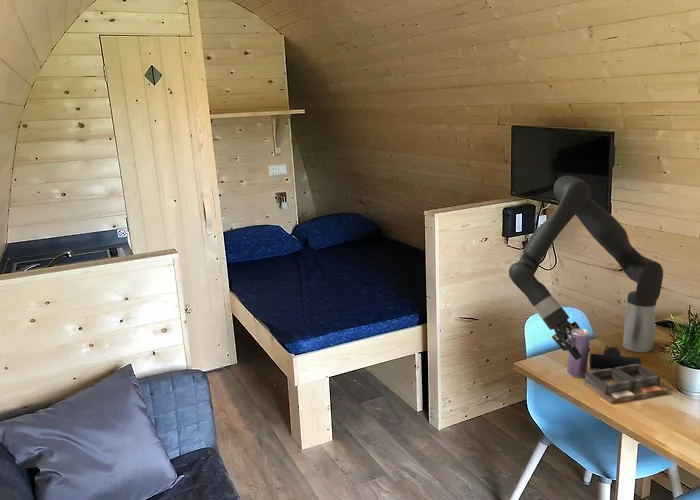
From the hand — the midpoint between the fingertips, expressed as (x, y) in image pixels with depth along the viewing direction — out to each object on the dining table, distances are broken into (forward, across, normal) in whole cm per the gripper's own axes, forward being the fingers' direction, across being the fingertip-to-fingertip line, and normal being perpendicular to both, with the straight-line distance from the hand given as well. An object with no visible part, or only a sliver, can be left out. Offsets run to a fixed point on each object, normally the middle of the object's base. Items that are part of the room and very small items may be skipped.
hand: (583, 355), depth 190 cm
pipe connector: (+9, +14, +2) cm, 17 cm away
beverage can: (+4, 0, +6) cm, 8 cm away
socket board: (+15, 0, -4) cm, 15 cm away
